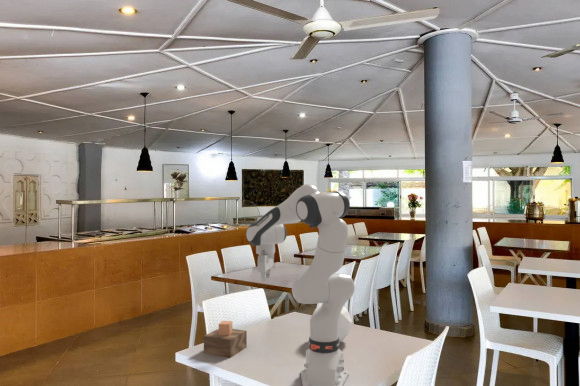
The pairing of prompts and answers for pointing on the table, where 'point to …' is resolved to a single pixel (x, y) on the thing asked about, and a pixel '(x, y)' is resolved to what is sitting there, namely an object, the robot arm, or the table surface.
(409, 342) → the table surface
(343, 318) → the polyhedron
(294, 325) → the table surface
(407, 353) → the table surface
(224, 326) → the cube
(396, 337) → the table surface
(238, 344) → the walnut box
